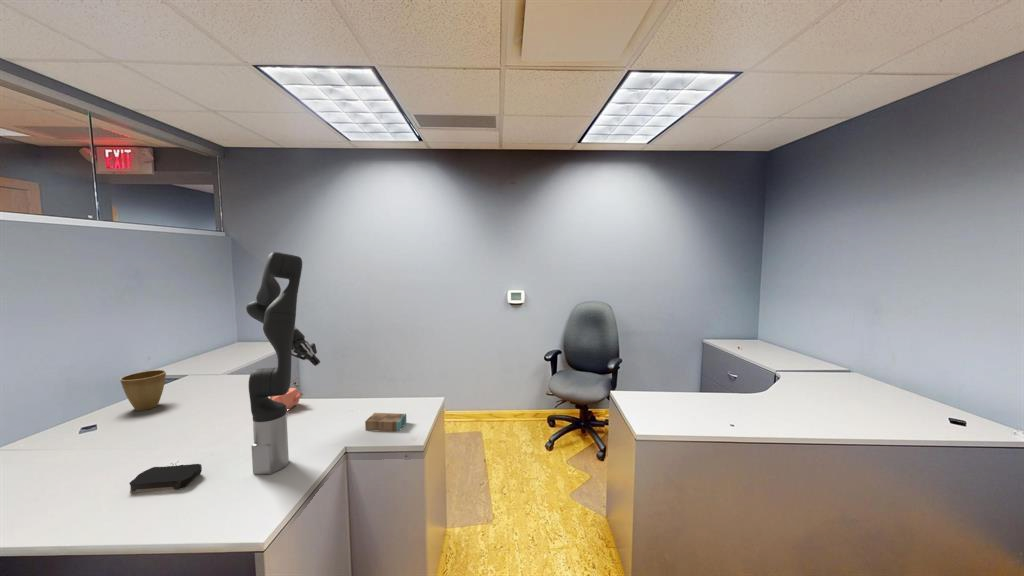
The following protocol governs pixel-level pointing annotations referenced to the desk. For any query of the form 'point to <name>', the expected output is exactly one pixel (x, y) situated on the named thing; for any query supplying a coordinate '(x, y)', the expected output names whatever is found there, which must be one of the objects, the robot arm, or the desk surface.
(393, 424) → the walnut block
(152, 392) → the plant pot
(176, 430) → the desk surface
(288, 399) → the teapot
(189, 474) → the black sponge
